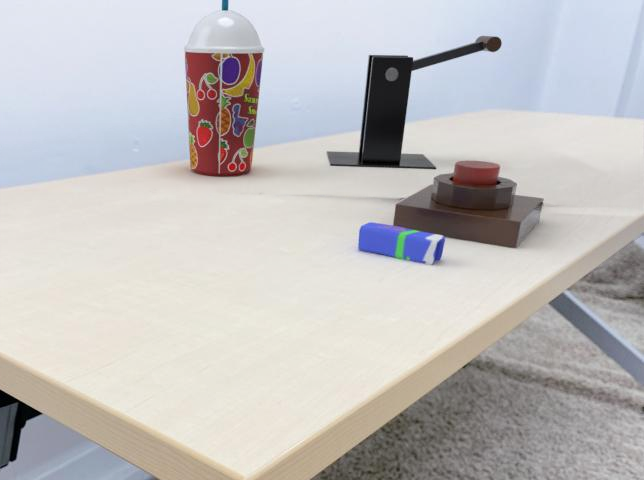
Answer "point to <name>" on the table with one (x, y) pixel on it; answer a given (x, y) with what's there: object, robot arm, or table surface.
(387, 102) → the bracket
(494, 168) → the button
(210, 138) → the smoothie
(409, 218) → the button block
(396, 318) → the table surface
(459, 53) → the lever
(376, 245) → the eraser
